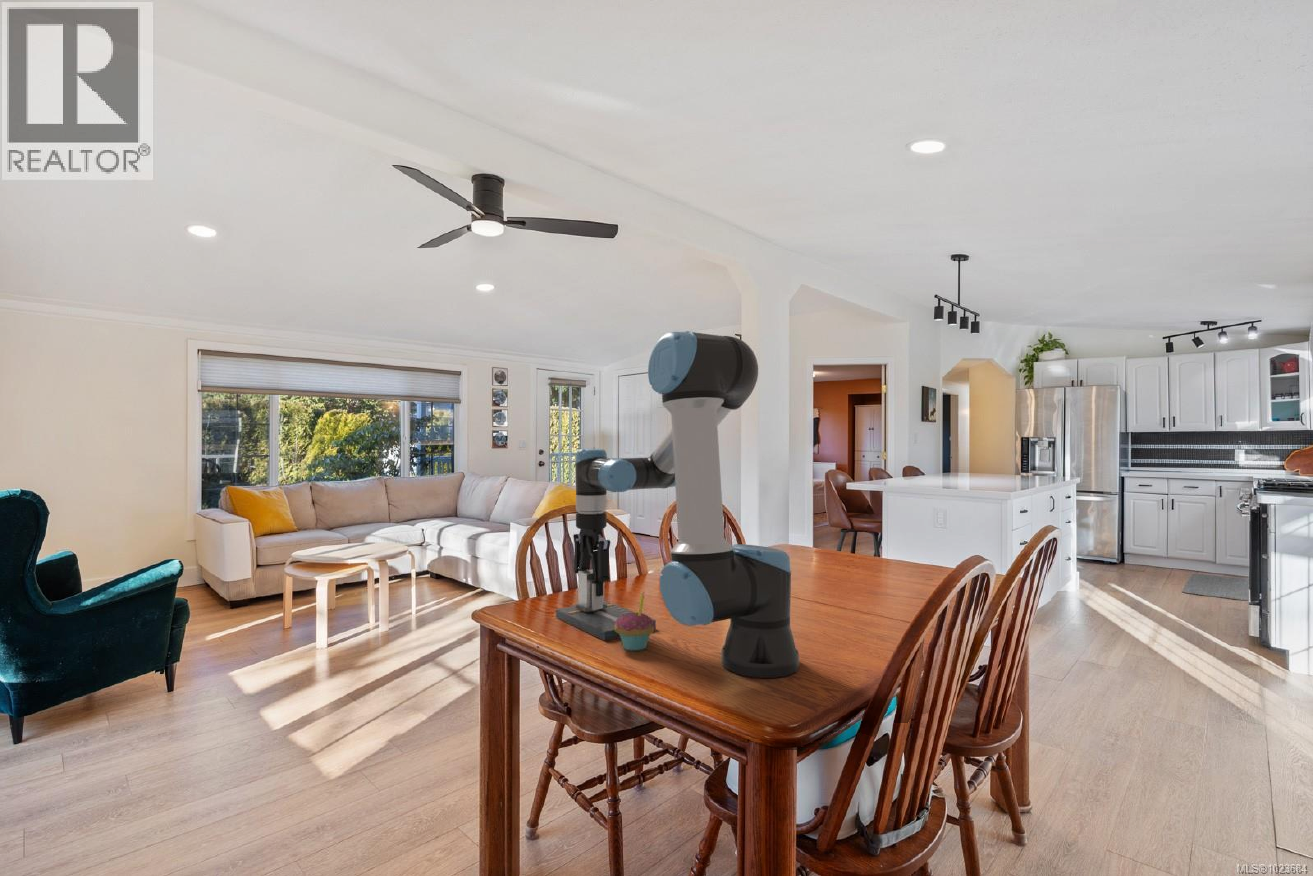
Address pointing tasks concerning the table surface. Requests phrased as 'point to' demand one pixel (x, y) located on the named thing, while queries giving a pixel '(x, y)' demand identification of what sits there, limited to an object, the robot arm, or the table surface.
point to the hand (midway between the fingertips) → (591, 606)
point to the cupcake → (634, 628)
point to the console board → (595, 620)
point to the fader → (586, 591)
